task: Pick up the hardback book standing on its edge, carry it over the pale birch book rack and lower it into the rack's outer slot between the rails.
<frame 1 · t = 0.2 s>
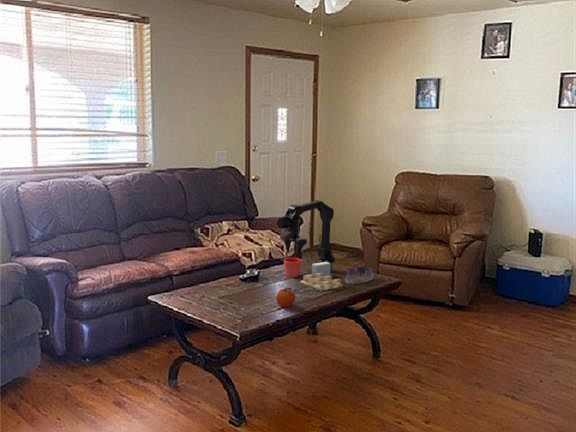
hand: (292, 253, 344), 14 cm above the table, fingers open, 9 cm apart
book: (320, 276, 351), on the table
rack: (321, 284, 335), on the table
geode: (358, 281, 344), on the table
flower pot: (292, 276, 350), on the table
fruit: (285, 306, 296), on the table
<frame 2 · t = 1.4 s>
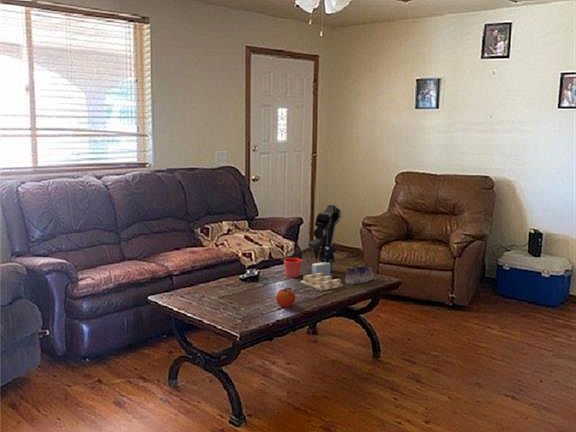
hand: (321, 260, 349), 9 cm above the table, fingers open, 9 cm apart
nothing on the table moved.
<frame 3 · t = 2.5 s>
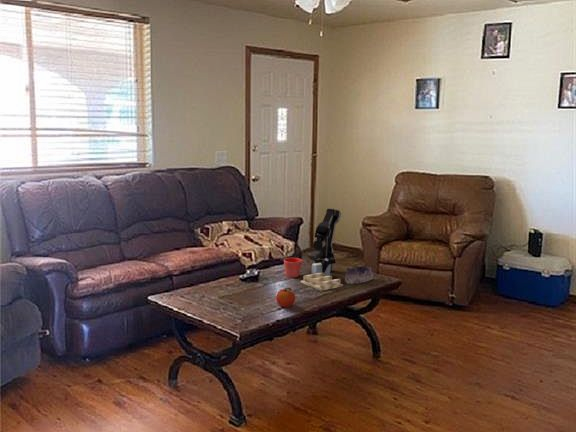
hand: (320, 272, 350), 3 cm above the table, fingers closed on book, 4 cm apart
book: (320, 276, 351), on the table, touching gripper
everything else where it was.
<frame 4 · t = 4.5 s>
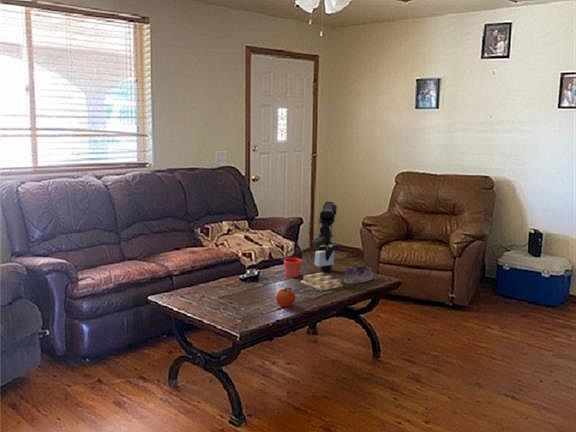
hand: (324, 259, 337), 13 cm above the table, fingers closed on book, 4 cm apart
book: (324, 264, 337), point 10 cm above the table, touching gripper
everything else where it was.
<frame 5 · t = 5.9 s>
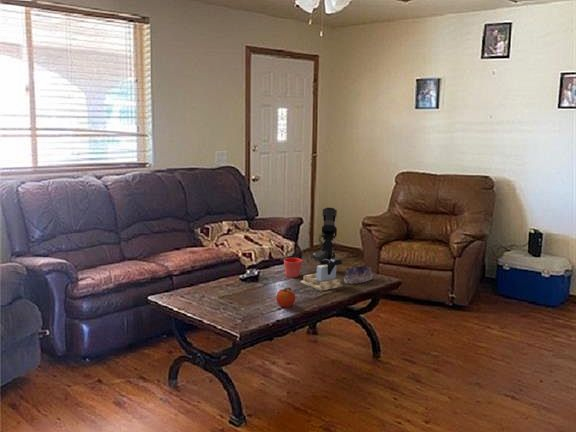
hand: (326, 273, 331), 7 cm above the table, fingers closed on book, 4 cm apart
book: (326, 279, 332), point 4 cm above the table, touching gripper
everything else where it was.
when the fingers open (5 cm above the table, at t = 6.6 s): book stays where it is, resting on rack.
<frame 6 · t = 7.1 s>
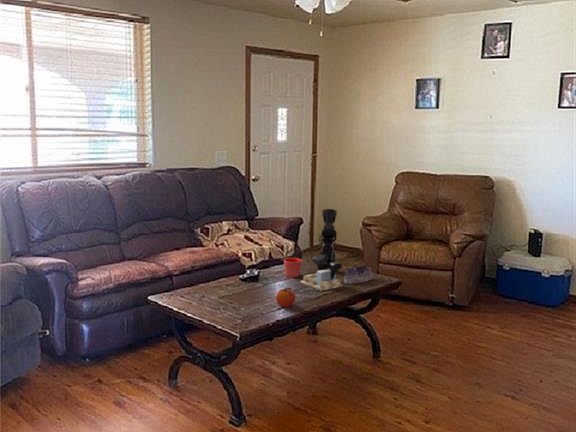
hand: (326, 277, 331), 5 cm above the table, fingers open, 9 cm apart
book: (325, 284, 332), point 1 cm above the table, touching rack
everything else where it was.
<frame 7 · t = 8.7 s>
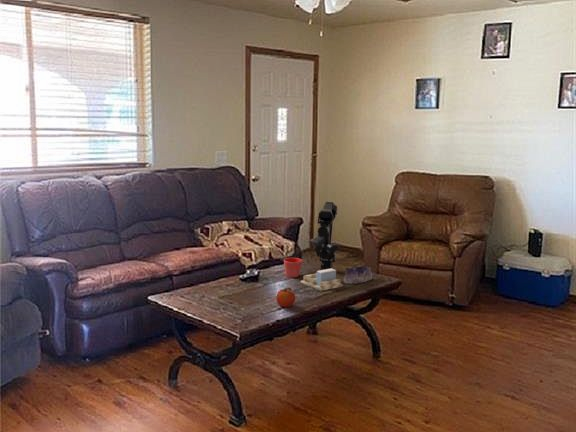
hand: (323, 258, 342), 12 cm above the table, fingers open, 9 cm apart
nothing on the table moved.
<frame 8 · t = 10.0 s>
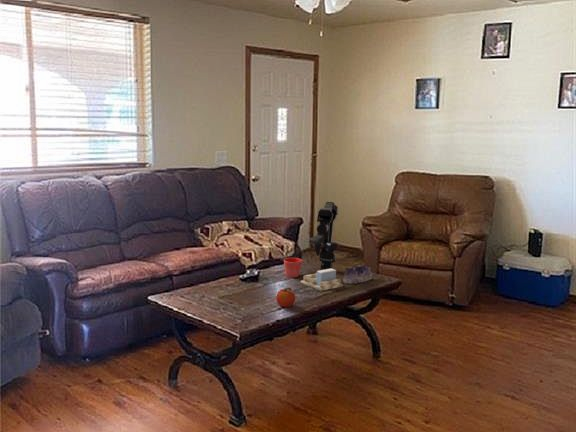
hand: (322, 257, 343), 13 cm above the table, fingers open, 9 cm apart
nothing on the table moved.
at the end: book inside the target area on the rack (0.1 cm from its centre), point 1.0 cm above the rack's base; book tilted 0°; the gripper is holding nothing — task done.
